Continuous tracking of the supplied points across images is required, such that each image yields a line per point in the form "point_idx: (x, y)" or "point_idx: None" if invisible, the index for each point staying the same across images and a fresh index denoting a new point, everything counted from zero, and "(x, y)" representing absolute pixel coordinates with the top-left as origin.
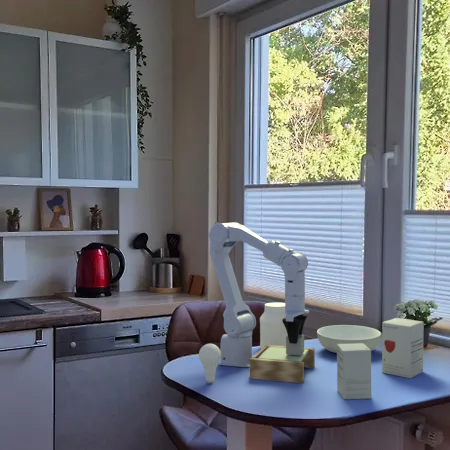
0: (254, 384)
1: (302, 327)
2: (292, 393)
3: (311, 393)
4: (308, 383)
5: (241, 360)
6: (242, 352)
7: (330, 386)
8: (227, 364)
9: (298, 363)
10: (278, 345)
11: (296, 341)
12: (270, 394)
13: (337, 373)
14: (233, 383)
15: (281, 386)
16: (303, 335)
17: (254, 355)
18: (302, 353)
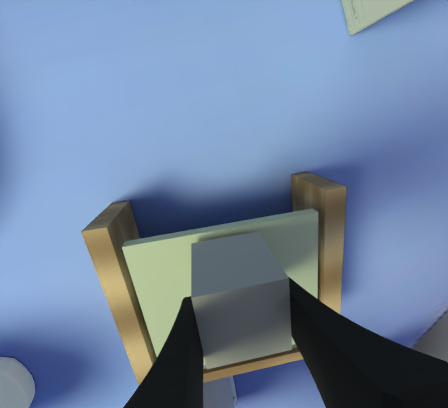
0: (349, 276)
1: (189, 352)
2: (398, 165)
3: (390, 114)
4: (302, 155)
5: (226, 380)
6: (229, 404)
7: (311, 75)
8: (235, 390)
9: (344, 202)
10: (2, 385)
11: (295, 283)
12: (414, 212)
13: (408, 3)
14: (353, 315)
15: (349, 214)
16: (212, 293)
17: (292, 359)
18: (227, 237)
